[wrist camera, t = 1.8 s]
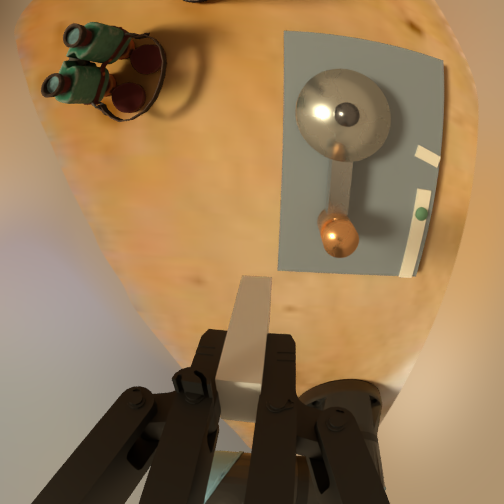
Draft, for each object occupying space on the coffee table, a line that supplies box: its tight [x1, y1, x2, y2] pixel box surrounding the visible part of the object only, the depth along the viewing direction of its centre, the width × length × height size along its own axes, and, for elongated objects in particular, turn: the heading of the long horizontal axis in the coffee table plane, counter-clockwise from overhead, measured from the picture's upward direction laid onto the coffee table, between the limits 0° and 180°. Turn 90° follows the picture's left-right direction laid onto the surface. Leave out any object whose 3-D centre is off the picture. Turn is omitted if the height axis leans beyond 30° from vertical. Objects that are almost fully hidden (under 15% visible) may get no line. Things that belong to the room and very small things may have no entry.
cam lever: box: [295, 69, 391, 258], centre depth 22 cm, size 16×8×5 cm, turn 0°
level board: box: [278, 31, 444, 278], centre depth 24 cm, size 24×16×2 cm, turn 0°
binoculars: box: [41, 22, 167, 122], centre depth 19 cm, size 9×11×10 cm
